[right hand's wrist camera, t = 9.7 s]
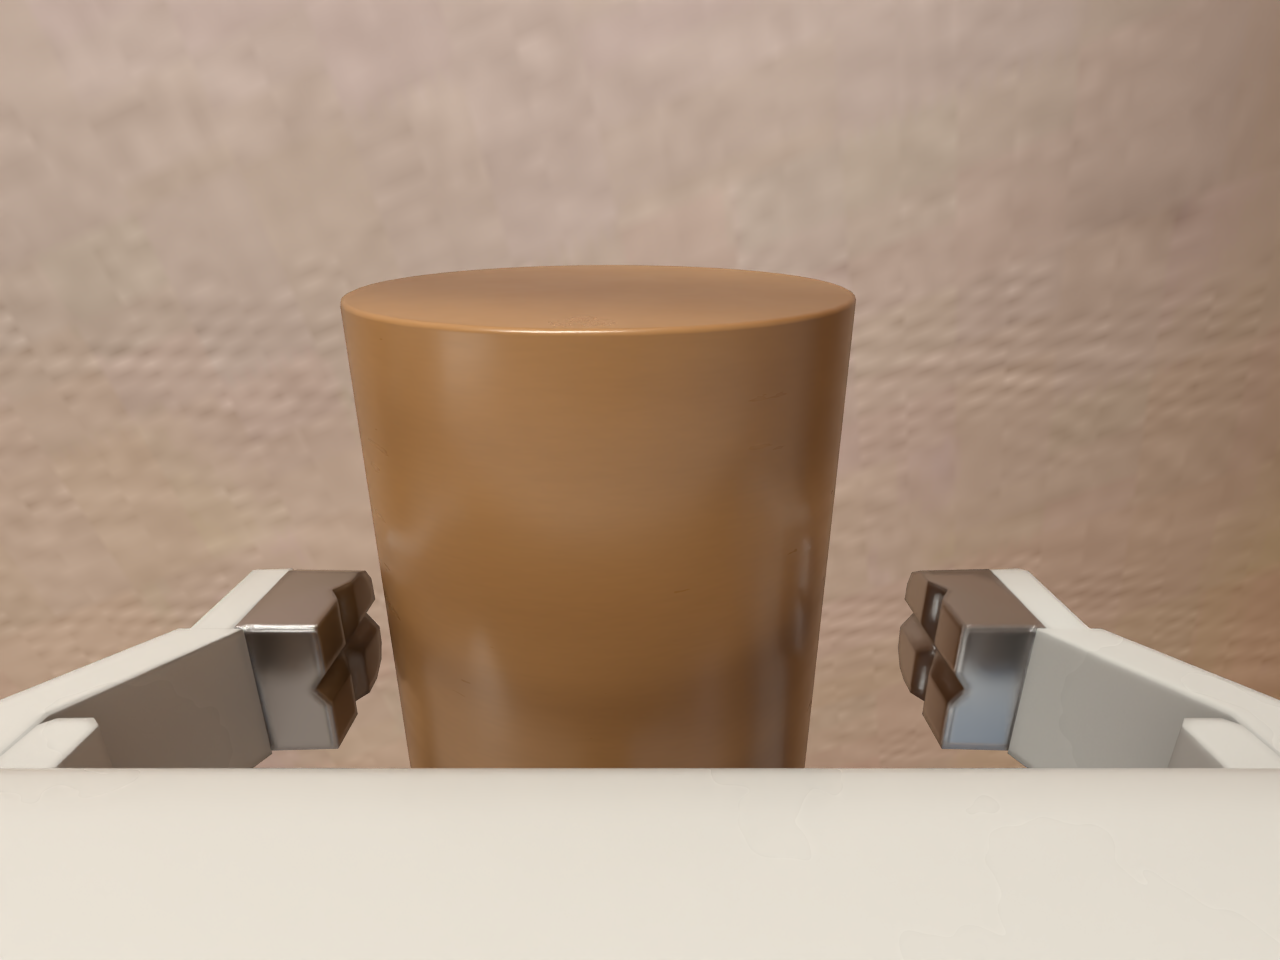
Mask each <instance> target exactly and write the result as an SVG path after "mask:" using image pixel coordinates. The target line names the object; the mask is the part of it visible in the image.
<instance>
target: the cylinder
mask: <svg viewBox="0 0 1280 960" xmlns="http://www.w3.org/2000/svg"><path fill="white" fill-rule="evenodd" d="M855 303H856V298H855V295H854V294H853V293H852V292H851V291H849V290H847V289H845V288H843V287H841V286H839V285H835V284H832V283H829V282H825V281H821V280H816V279H811V278H806V277H800V276H793V275H786V274H778V273H769V272H760V271H748V270H736V269H722V268H704V267H681V266H644V265H577V266H539V267H516V268H498V269H482V270H469V271H457V272H447V273H437V274H429V275H420V276H413V277H406V278H400V279H394V280H389V281H384V282H379V283H375V284H370V285H367V286H364V287H361V288H358V289H356V290H354V291H351V292H349V293H347V294H346V295H345V296H344V297H342V299H341V306H340V307H341V314H342V320H343V327H344V333H345V340H346V346H347V353H348V360H349V366H350V373H351V379H352V386H353V392H354V399H355V406H356V412H357V419H358V425H359V432H360V438H361V445H362V451H363V458H364V465H365V471H366V478H367V484H368V491H369V497H370V504H371V510H372V517H373V524H374V530H375V537H376V543H377V550H378V556H379V563H380V569H381V576H382V583H383V589H384V596H385V602H386V609H387V615H388V622H389V628H390V635H391V642H392V648H393V655H394V661H395V668H396V674H397V681H398V688H399V694H400V701H401V707H402V714H403V720H404V727H405V733H406V740H407V747H408V753H409V760H410V766H411V768H805V759H806V750H807V741H808V731H809V722H810V713H811V704H812V695H813V686H814V677H815V668H816V659H817V649H818V640H819V631H820V622H821V613H822V604H823V595H824V586H825V577H826V567H827V558H828V549H829V540H830V531H831V522H832V513H833V504H834V495H835V485H836V476H837V467H838V458H839V449H840V440H841V431H842V422H843V413H844V403H845V394H846V385H847V376H848V367H849V358H850V349H851V340H852V331H853V321H854V312H855Z"/></svg>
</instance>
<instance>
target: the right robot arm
mask: <svg viewBox="0 0 1280 960" xmlns="http://www.w3.org/2000/svg"><path fill="white" fill-rule="evenodd" d="M374 600H375V595H374V590H373V585H372V580H371V577H370V576H369V575H368V574H367V572H366V571H355V570H299V569H297V570H294V569H262V570H253V571H252V572H251V573H249V574H248V575H247V576H246V577H245V578H244V579H243V580H242V581H241V582H240V583H239V584H238V585H237V586H235V587H234V588H233V589H232V590H231V591H230V592H229V593H228V594H227V595H226V596H225V597H224V598H223V599H222V600H220V601H219V602H218V603H217V604H216V605H215V606H214V607H213V608H212V609H211V610H210V611H209V612H208V613H206V614H205V615H204V616H203V617H202V618H201V619H200V620H199V621H198V622H197V623H196V624H195V625H194V626H192V627H191V628H190V629H176V630H174V631H171V632H169V633H166V634H164V635H161V636H159V637H156V638H154V639H151V640H149V641H146V642H144V643H141V644H139V645H136V646H134V647H131V648H129V649H126V650H124V651H121V652H119V653H116V654H114V655H111V656H109V657H106V658H104V659H101V660H99V661H96V662H94V663H91V664H89V665H86V666H84V667H81V668H79V669H76V670H74V671H71V672H69V673H66V674H64V675H61V676H59V677H56V678H54V679H51V680H49V681H46V682H44V683H41V684H39V685H36V686H34V687H31V688H29V689H26V690H24V691H21V692H19V693H16V694H14V695H11V696H9V697H6V698H4V699H1V700H0V960H1280V700H1278V699H1276V698H1273V697H1271V696H1268V695H1266V694H1263V693H1261V692H1258V691H1256V690H1253V689H1251V688H1248V687H1246V686H1243V685H1241V684H1238V683H1236V682H1233V681H1231V680H1228V679H1226V678H1223V677H1221V676H1218V675H1216V674H1213V673H1211V672H1208V671H1206V670H1203V669H1201V668H1198V667H1196V666H1193V665H1191V664H1188V663H1186V662H1183V661H1181V660H1178V659H1176V658H1173V657H1171V656H1168V655H1166V654H1164V653H1161V652H1159V651H1156V650H1154V649H1151V648H1149V647H1146V646H1144V645H1141V644H1139V643H1136V642H1134V641H1131V640H1129V639H1126V638H1124V637H1121V636H1119V635H1116V634H1114V633H1111V632H1109V631H1106V630H1104V629H1090V628H1089V627H1087V626H1086V625H1085V624H1084V623H1083V622H1082V621H1081V620H1080V619H1079V618H1078V617H1077V616H1076V615H1075V614H1074V613H1072V612H1071V611H1070V610H1069V609H1068V608H1067V607H1066V606H1065V605H1064V604H1063V603H1062V602H1061V601H1060V600H1059V599H1057V598H1056V597H1055V596H1054V595H1053V594H1052V593H1051V592H1050V591H1049V590H1048V589H1047V588H1046V587H1045V586H1044V585H1042V584H1041V583H1040V582H1039V581H1038V580H1037V579H1036V578H1035V577H1034V576H1033V575H1032V574H1031V573H1030V572H1029V571H1026V570H1023V569H1019V568H1018V569H996V570H989V569H973V570H930V571H917V572H912V573H911V576H910V578H909V581H908V583H907V588H906V594H905V600H906V602H907V603H908V605H909V607H910V608H911V610H912V611H913V614H912V615H911V616H910V617H909V618H908V619H907V620H906V621H905V622H904V623H903V624H902V626H901V627H900V635H899V644H898V652H899V664H900V669H901V672H902V676H903V679H904V681H905V683H906V685H907V687H908V689H909V691H910V692H911V693H912V694H914V695H915V696H917V697H919V698H920V699H922V700H923V701H924V707H923V713H922V714H923V716H924V718H925V720H926V721H927V723H928V725H929V727H930V729H931V730H932V732H933V734H934V736H935V737H936V739H937V741H938V743H939V744H940V746H941V748H942V749H973V750H1008V754H1009V755H1011V756H1012V757H1013V758H1015V759H1016V760H1017V761H1019V762H1020V763H1021V764H1023V765H1024V766H1025V767H1027V768H253V767H255V766H256V765H257V764H259V763H260V762H261V761H263V760H264V759H265V758H267V757H268V756H269V755H271V754H272V751H271V750H305V749H338V748H339V746H340V744H341V743H342V741H343V739H344V737H345V736H346V734H347V732H348V730H349V728H350V727H351V725H352V723H353V721H354V720H355V718H356V716H357V714H358V713H357V707H356V701H357V700H358V699H360V698H361V697H363V696H365V695H366V694H368V693H369V692H370V691H371V689H372V687H373V685H374V683H375V681H376V679H377V676H378V671H379V667H380V662H381V646H382V642H381V634H380V627H379V626H378V625H377V624H376V622H375V621H374V620H373V619H372V618H371V617H370V616H369V615H368V614H367V611H368V609H369V608H370V606H371V605H372V603H373V602H374Z"/></svg>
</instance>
